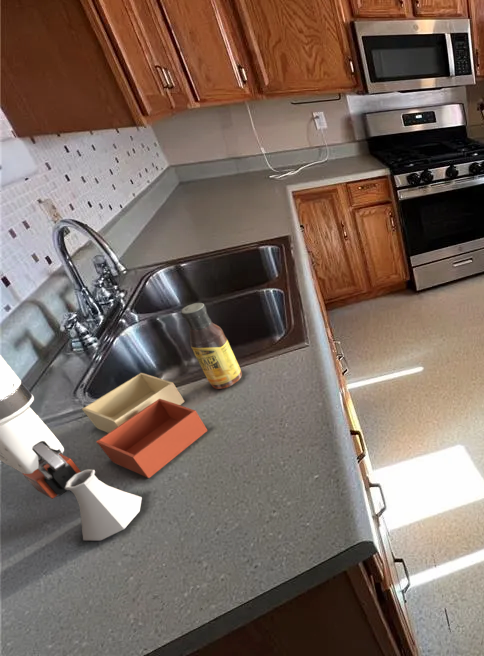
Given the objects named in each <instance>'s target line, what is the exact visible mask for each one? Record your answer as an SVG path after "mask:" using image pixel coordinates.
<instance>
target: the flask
mask: <svg viewBox="0 0 484 656" xmlns="http://www.w3.org/2000/svg"><path fill="white" fill-rule="evenodd" d="M95 474H96V471H95V469H84V470H82V471H81V472H79V473H77V474H75V475H74V476H73V477H72V478H71V479H69V480H68V481H67V483H66V486H65V489H66V490H67V491H71V493H72V494H73V495H74V496H75V498H76V501H77V503H78V507H79V513H80V520H81V530H82V531H81V532H82V540H83V541H103V540H105V539H107V538H109V537H111V536H113V535H115V534H117V533H119V532H121V531H123V530H125V529H126V528H127V526H128V525H129V524H131V522H132V521H133V520H134V518H135V517H136V516H137V515H138V514H139V513H140V511H141V506H142V500H143V497H142V496H139V495H137V494H133V493H130V492H127V491H124V490H121V489H118V488H116V487H113V486H110V485H108V484H106V483H104V482H103V481H101V480H99V478H98V477H97V476H96V475H95Z"/></svg>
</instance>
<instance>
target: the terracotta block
mask: <svg viewBox="0 0 484 656" xmlns="http://www.w3.org/2000/svg"><path fill="white" fill-rule="evenodd" d="M59 455H60V456H61V457H62V458H63V459H64V460H65V461H66V462H67V463H68V464H70V466H71V467H72V468H73V469H74V471H75V472H76V473H79V472H82V471H81V469H80V468H79V467H78V466H77V464H75V462H74V461H73V459H72V458H70V457H68V456H66V455H63V453H62V454H59ZM43 467H44V468H45V469H46V470H47V468H49V467H50V466H49V465H48V464H46V465H44V466H43ZM21 474H22V475H23V477H25V479H26V480H27V481H28V482H29V483H30V484H31V485H32V486H33V487H34V488H35V490H36V491H37V492H38V493H41V494H42V495H44V496H46V497H48V498H50V499H51V500H52V499H55V497H57V496H58V495H57V494H56V493H55V492H54V491H53V490H52V489H51V488H50V487H49V485H48V484H47V483H46V482H45V481H44V479H45V477H44V476H43V475H42V474H41V473H40V472H39V471H38V470H35V471H33V473H32V474H24V473H22V472H21Z"/></svg>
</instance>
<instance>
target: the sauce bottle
mask: <svg viewBox="0 0 484 656" xmlns="http://www.w3.org/2000/svg"><path fill="white" fill-rule="evenodd" d="M180 313H181V316H182V318H183V319H185V322H186V323H187V325H188V328H189V342H190V343H189V344H190V348H191V350H192V352H193V354H194V356H195V358H196V360H197V362H198V364H199V366H200V368H201V370H202V371H203V374H204V375H205V377H206V379H207V382H208V383H209V384H210V386H211V387H212V388H214V389H215V390H221V389H227V388H230V387H231V386H233V385H235V384H237V382H239V381H240V380H241V378H242V375H243V372H242V370H241V367H240V365H239V362H238V360H237V358H236V356H235V353H234V351H233V350H232V346H231V345H230V342H229V340H228V338H227V337H226V335H225V333H224V330H223V329H222V328H221V326H219V325H217V324H215V323H213V321H212V319H211V318H210V315H209V314H208V312H207V306H206V305H205V304H204V303H202V302H195V303H192V304H189V305H186V306H184V307H183V308H182V309H181V310H180Z"/></svg>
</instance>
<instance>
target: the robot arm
mask: <svg viewBox="0 0 484 656" xmlns="http://www.w3.org/2000/svg"><path fill="white" fill-rule="evenodd" d="M34 401H35V397H34V395H33V393H32V392H31V391H30V390H29V389H28V387H27V386H26V384H24V382H23V381H22V380H21V379H20V377H19V376H18V375H17V373H16V372H15V371H14V370H13V369H12V367H11V366H10V364H8V363H7V361H6V360H5V359H4V357H3V356H2V355H1V354H0V462H2V463H4V464H5V465H7V466H9V467H10V468H12V469H14V470H16V471H18V472H20V473H21V474H22V473H24V474H32V473H33V471H35V470H38V471H39V472H40V473H41V474H42V475H43V476H44V477H45V479H44V481H45V482H46V483H47V484H48V485H49V487H50V488H51V489H52V490H53V491H54V492H55V493H56V494H57V496H61V495H62V494H64V493H65V492H67V491H68V490H66V489H65V486H66V483H67V481H68V480H69V479H71V478H72V477H73V476H74V475H75V474H77V473H76V472H75V471H74V469H73V468H72V467H71V466H70V464H68V463H67V462H66V461H65V460H64V459H63V458H62V457H61V456H60V455H59V454H62V455H63V454H64V452H65V448H64V446H63V444H62V443H61V442H60V440H59V439H58V438H57V437H56V436H55V434H54V433H53V432H52V431H51V429H50V428H49V427H48V425H47V424H45V422H44V421H43V420H42V418H41V417H40V416H39V415H38V414H37V413H36V412H35V411H34V410H33V409H32V407H30V406H31V405H32V403H33V402H34ZM46 464H48V465H49V466H50V467H49V468H47V470H46V469H45V468H44V467H43V466H44V465H46Z"/></svg>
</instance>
